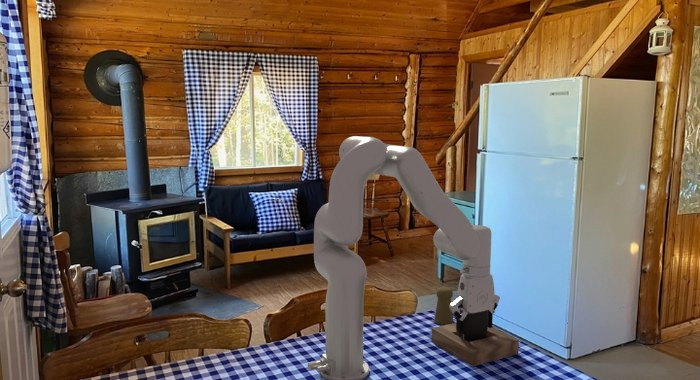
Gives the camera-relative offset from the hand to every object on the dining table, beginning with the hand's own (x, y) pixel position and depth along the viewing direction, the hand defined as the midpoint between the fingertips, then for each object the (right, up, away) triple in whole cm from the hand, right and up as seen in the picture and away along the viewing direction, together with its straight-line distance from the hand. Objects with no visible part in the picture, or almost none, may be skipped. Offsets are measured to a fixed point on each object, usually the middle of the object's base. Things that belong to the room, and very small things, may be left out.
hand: (474, 329), depth 151 cm
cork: (-5, -3, +21) cm, 21 cm away
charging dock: (0, -5, +1) cm, 5 cm away
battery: (0, -4, +1) cm, 5 cm away
